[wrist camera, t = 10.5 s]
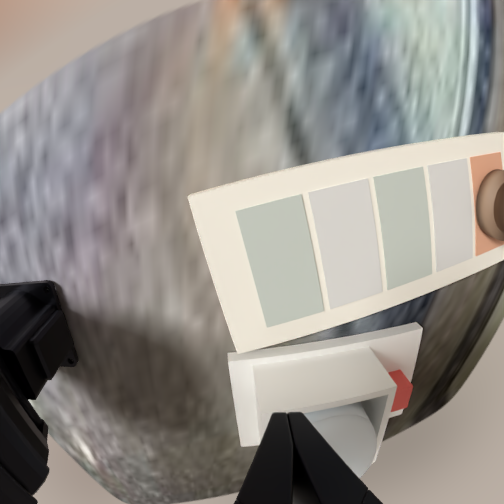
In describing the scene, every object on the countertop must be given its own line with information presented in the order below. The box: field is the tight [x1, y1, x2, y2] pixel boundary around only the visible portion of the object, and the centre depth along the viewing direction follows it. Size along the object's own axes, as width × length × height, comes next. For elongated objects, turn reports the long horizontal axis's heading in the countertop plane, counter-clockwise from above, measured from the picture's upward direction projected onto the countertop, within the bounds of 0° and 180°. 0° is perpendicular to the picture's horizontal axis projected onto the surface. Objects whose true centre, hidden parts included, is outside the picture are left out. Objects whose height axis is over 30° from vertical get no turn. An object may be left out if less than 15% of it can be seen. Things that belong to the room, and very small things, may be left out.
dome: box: [303, 402, 377, 478], centre depth 17 cm, size 6×6×6 cm
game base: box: [228, 322, 423, 463], centre depth 20 cm, size 14×9×6 cm, turn 94°
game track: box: [188, 132, 504, 354], centre depth 19 cm, size 23×10×1 cm, turn 104°
